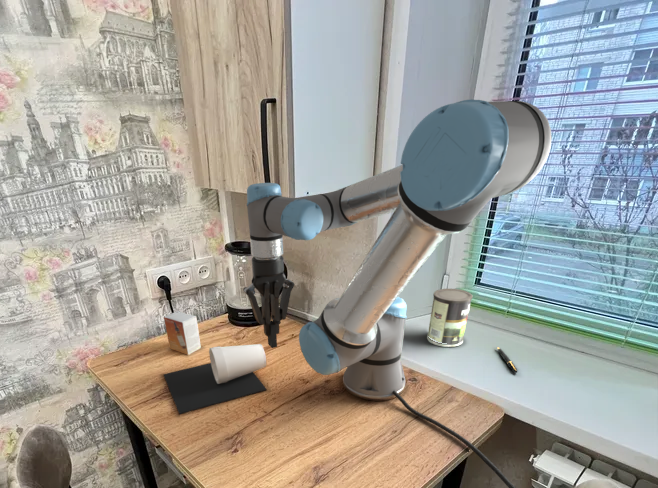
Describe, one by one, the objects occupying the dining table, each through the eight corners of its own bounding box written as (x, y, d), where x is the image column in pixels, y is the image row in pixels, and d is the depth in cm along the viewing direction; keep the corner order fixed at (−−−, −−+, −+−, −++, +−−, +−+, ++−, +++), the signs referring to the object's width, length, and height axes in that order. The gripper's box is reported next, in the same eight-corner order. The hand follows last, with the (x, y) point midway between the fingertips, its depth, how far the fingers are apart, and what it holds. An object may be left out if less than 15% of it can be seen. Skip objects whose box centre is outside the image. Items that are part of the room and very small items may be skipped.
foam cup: (271, 369, 104) (220, 381, 100) (263, 375, 113) (216, 386, 109) (261, 333, 104) (210, 343, 101) (254, 342, 113) (207, 352, 110)
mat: (266, 390, 103) (266, 389, 103) (179, 414, 96) (179, 413, 96) (240, 357, 119) (240, 355, 119) (163, 375, 112) (163, 374, 111)
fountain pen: (494, 349, 118) (496, 344, 117) (499, 349, 117) (500, 344, 117) (514, 374, 105) (515, 369, 105) (518, 375, 105) (520, 369, 105)
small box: (169, 349, 125) (162, 316, 119) (183, 342, 129) (177, 310, 123) (188, 355, 121) (182, 322, 115) (201, 348, 125) (196, 315, 119)
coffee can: (466, 336, 125) (476, 291, 117) (457, 350, 118) (467, 303, 110) (432, 329, 130) (439, 286, 122) (422, 342, 123) (428, 296, 115)
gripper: (286, 248, 102) (289, 335, 115) (236, 256, 98) (244, 344, 111) (299, 255, 97) (300, 346, 109) (246, 264, 92) (254, 356, 105)
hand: (272, 345), depth 110 cm, fingers closed
